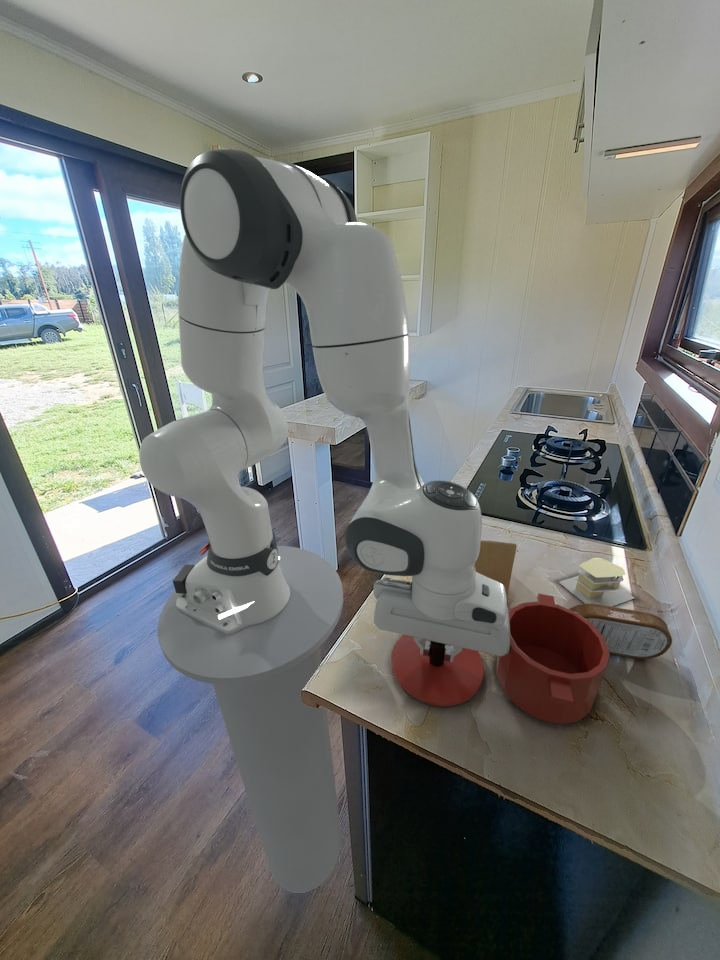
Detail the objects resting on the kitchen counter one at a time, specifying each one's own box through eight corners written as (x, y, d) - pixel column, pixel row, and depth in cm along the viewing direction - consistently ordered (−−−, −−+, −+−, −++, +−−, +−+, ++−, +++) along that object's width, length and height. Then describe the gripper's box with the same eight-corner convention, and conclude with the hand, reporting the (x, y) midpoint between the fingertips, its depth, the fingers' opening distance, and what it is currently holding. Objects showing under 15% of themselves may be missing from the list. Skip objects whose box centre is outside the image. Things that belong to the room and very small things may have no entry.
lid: (381, 693, 58) (381, 668, 56) (401, 622, 71) (402, 599, 68) (481, 721, 54) (485, 695, 51) (484, 640, 66) (487, 616, 64)
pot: (496, 727, 53) (505, 681, 49) (496, 624, 69) (503, 583, 65) (607, 757, 49) (627, 711, 45) (580, 641, 65) (592, 599, 61)
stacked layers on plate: (595, 612, 71) (603, 589, 69) (558, 582, 79) (563, 560, 76) (635, 598, 74) (643, 575, 71) (595, 570, 81) (601, 549, 79)
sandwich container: (497, 559, 86) (506, 501, 79) (506, 609, 72) (518, 544, 66) (458, 555, 88) (463, 498, 81) (459, 603, 74) (466, 539, 68)
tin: (657, 651, 63) (674, 613, 59) (665, 667, 60) (683, 629, 57) (557, 632, 67) (567, 596, 63) (560, 647, 64) (571, 610, 61)
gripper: (367, 590, 55) (369, 656, 61) (518, 619, 50) (504, 689, 56) (378, 563, 61) (379, 626, 67) (516, 587, 55) (503, 654, 61)
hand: (437, 655), depth 61 cm, fingers closed on lid, 2 cm apart
